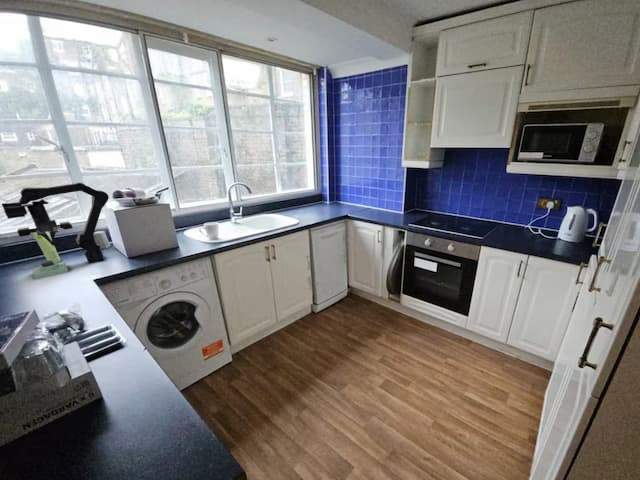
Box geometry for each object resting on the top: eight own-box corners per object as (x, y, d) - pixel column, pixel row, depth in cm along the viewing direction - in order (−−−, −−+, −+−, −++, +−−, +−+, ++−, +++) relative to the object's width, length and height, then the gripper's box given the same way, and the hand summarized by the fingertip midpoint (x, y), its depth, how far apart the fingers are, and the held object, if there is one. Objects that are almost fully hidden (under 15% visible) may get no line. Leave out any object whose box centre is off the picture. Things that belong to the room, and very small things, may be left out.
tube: (59, 262, 160) (43, 227, 152) (46, 264, 157) (29, 229, 150) (62, 259, 164) (46, 225, 156) (49, 261, 162) (33, 227, 154)
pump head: (53, 263, 149) (51, 259, 148) (54, 265, 146) (52, 261, 145) (42, 266, 146) (40, 262, 145) (43, 268, 143) (41, 264, 143)
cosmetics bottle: (102, 246, 184) (96, 231, 180) (110, 246, 185) (104, 230, 181) (98, 249, 179) (91, 233, 175) (106, 248, 180) (100, 232, 176)
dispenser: (66, 266, 155) (63, 259, 153) (68, 271, 148) (65, 264, 147) (34, 273, 147) (30, 266, 145) (35, 279, 140) (31, 271, 139)
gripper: (10, 220, 130) (27, 253, 136) (67, 213, 142) (80, 243, 149) (11, 217, 137) (26, 248, 143) (65, 210, 149) (77, 239, 156)
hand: (53, 245), depth 147 cm, fingers closed
